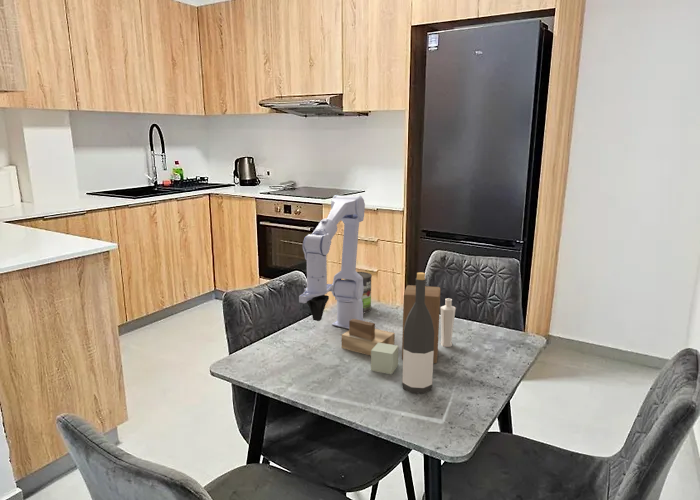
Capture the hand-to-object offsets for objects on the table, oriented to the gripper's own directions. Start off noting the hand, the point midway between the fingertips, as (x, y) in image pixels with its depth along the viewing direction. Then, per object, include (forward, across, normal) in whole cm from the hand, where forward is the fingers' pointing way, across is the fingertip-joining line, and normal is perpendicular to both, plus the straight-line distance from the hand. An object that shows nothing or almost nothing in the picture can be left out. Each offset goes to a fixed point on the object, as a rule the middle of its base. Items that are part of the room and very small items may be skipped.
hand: (317, 319), depth 143 cm
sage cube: (+10, -1, +22) cm, 24 cm away
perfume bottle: (+10, -26, +31) cm, 41 cm away
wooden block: (+10, -14, +27) cm, 32 cm away
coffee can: (+10, -38, -9) cm, 41 cm away
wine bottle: (+10, +4, +34) cm, 36 cm away
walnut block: (+6, -8, +11) cm, 14 cm away
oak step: (+10, -11, +11) cm, 19 cm away
